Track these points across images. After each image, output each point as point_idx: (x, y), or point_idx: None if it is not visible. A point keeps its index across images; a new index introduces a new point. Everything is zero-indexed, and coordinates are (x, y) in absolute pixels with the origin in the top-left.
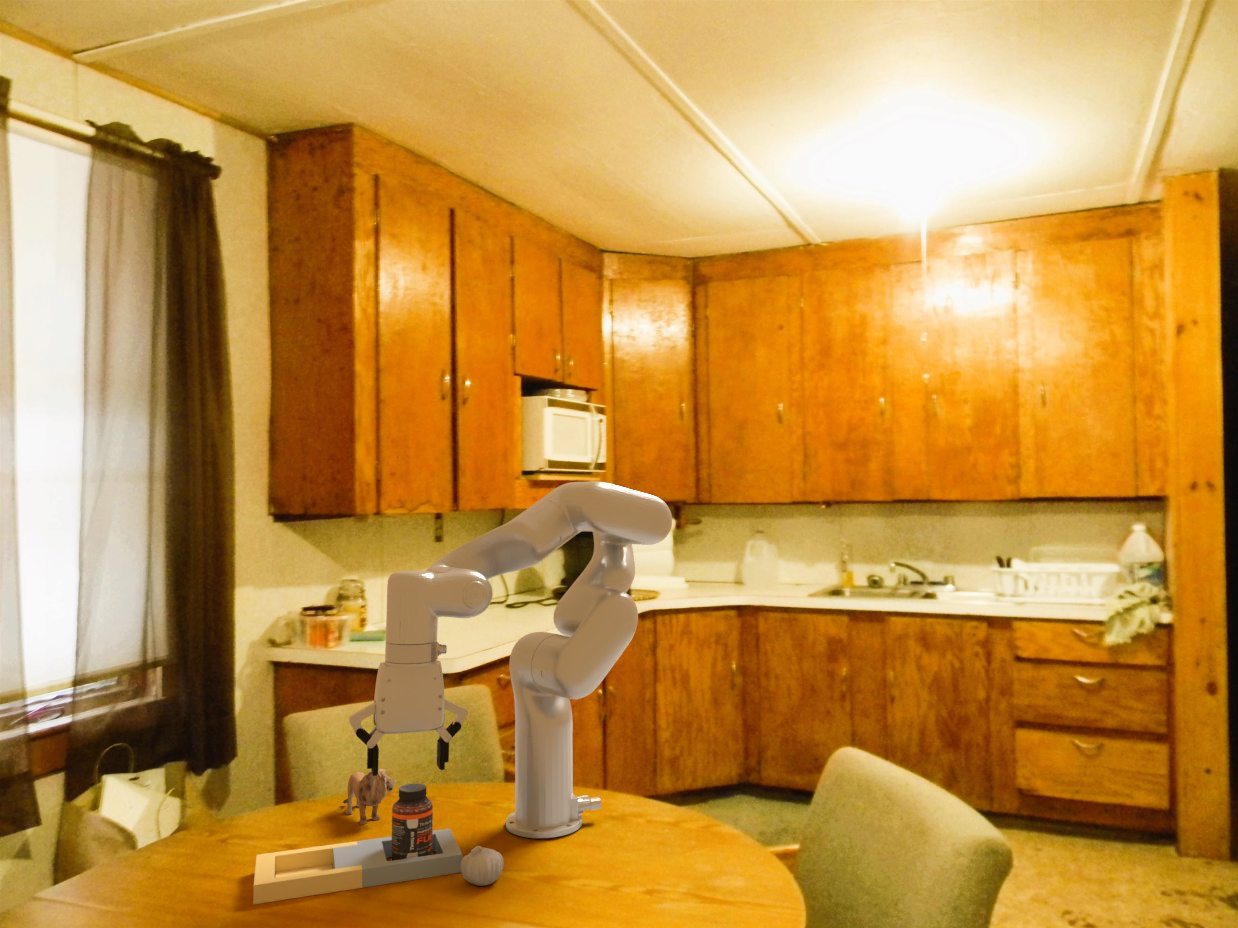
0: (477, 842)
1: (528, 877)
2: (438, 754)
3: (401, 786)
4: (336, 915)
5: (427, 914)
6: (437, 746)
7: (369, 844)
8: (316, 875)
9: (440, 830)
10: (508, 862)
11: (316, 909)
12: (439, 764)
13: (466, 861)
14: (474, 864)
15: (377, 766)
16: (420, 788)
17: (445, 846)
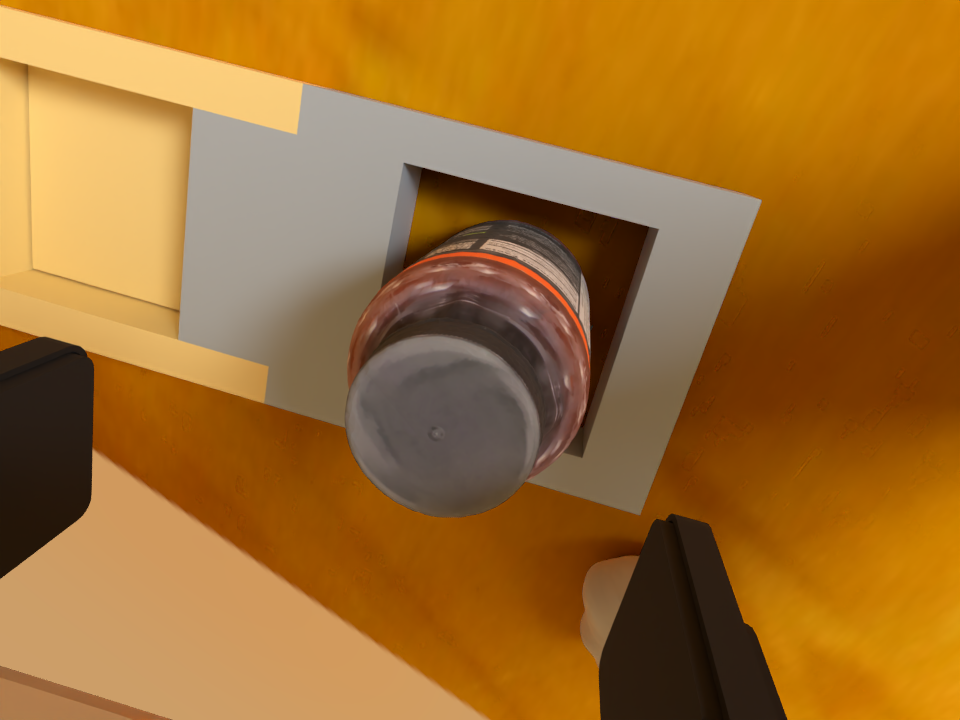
0: (866, 245)
1: (799, 648)
2: (638, 681)
3: (373, 370)
4: (196, 503)
5: (414, 647)
6: (678, 672)
7: (345, 166)
8: (113, 354)
9: (706, 197)
10: (828, 511)
11: (150, 435)
12: (608, 672)
13: (592, 629)
14: None
15: (27, 552)
16: (475, 494)
17: (624, 399)
